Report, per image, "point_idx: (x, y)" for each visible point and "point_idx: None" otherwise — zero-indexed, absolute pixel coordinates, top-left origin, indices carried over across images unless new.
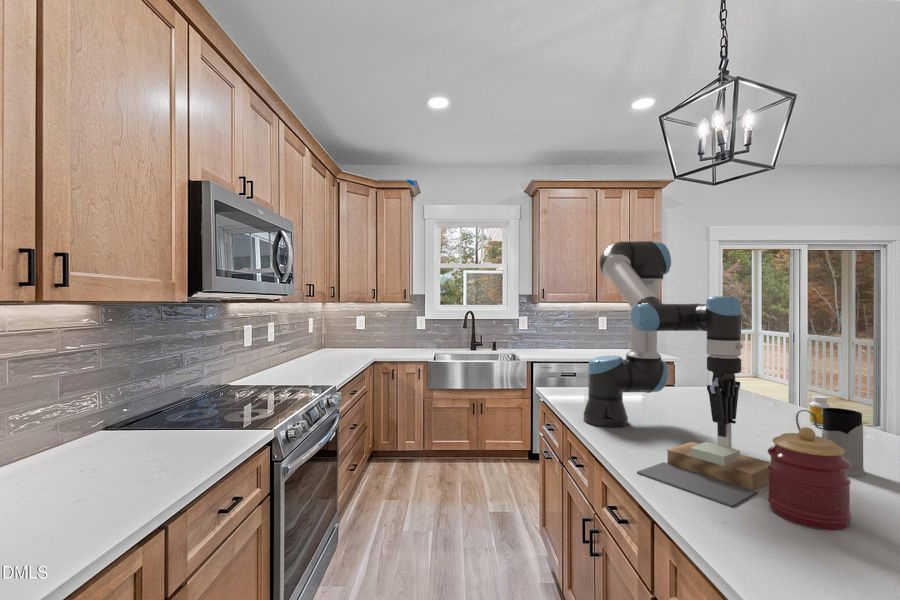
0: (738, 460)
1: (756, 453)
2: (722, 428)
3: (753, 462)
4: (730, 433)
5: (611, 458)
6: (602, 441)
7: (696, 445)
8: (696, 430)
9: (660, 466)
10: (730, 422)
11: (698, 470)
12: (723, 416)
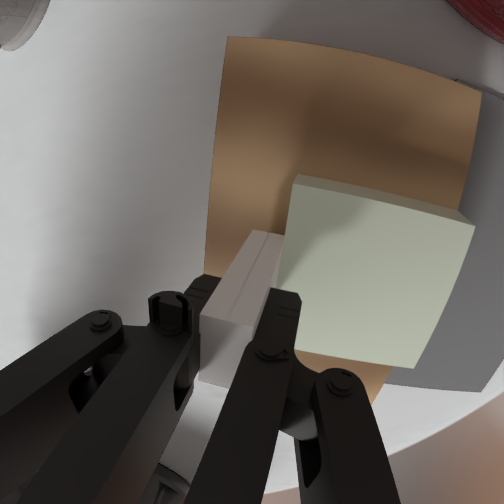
0: (325, 173)
1: (38, 191)
2: (295, 339)
3: (298, 110)
4: (240, 276)
5: (400, 448)
6: (285, 478)
7: (361, 360)
8: (27, 342)
9: (411, 375)
10: (190, 325)
11: None
12: (339, 422)
